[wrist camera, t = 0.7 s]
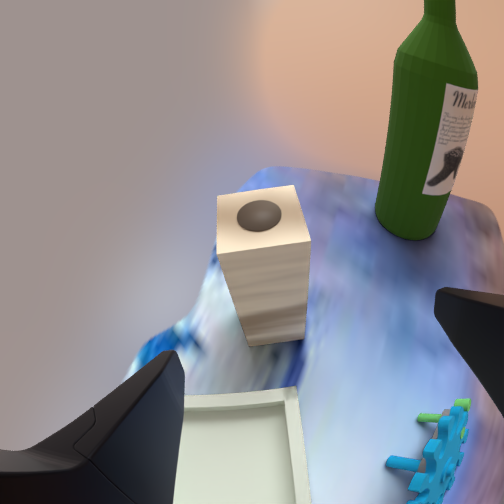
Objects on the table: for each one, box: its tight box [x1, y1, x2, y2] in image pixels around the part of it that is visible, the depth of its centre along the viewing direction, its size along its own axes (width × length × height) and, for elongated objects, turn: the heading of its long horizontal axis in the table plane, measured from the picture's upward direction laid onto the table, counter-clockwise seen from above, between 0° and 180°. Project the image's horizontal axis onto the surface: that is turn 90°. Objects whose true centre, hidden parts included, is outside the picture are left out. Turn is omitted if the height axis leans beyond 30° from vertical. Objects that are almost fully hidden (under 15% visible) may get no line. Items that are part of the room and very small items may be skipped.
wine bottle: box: [375, 0, 478, 240], centre depth 21 cm, size 9×9×32 cm
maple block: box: [217, 185, 311, 347], centre depth 21 cm, size 5×5×13 cm
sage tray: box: [173, 386, 311, 504], centre depth 16 cm, size 13×12×3 cm
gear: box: [386, 399, 471, 504], centre depth 14 cm, size 11×6×10 cm
